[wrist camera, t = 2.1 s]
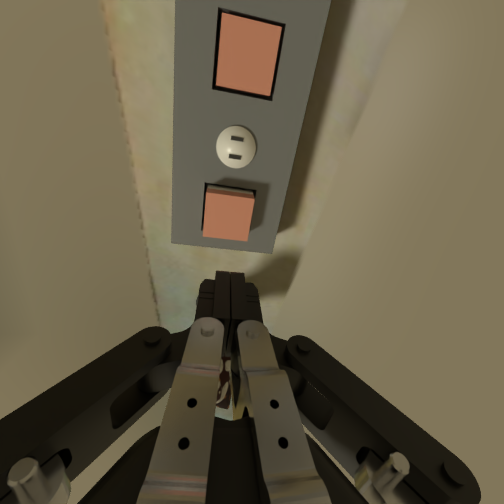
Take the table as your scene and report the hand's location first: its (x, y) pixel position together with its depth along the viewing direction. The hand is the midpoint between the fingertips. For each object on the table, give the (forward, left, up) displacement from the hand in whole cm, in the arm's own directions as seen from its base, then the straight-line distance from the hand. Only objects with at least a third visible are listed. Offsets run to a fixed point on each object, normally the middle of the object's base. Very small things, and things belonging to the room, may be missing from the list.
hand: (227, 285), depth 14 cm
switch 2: (0, 0, -12) cm, 12 cm away
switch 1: (-12, 0, -13) cm, 18 cm away
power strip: (-8, 0, -15) cm, 17 cm away
